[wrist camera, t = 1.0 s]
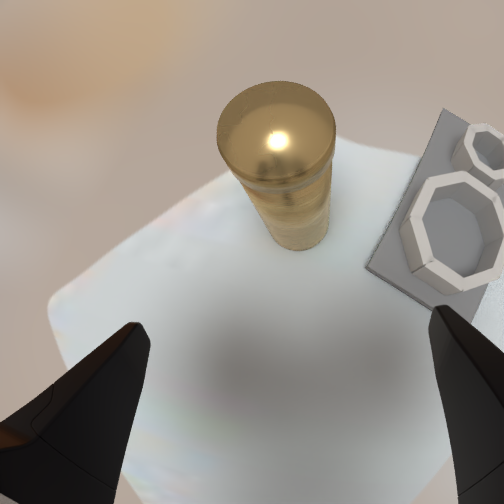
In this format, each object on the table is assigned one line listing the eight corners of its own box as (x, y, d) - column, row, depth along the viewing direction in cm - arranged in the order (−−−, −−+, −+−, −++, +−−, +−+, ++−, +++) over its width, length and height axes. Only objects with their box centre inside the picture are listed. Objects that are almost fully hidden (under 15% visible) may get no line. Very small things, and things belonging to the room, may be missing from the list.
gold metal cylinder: (308, 264, 23) (295, 200, 11) (254, 231, 24) (191, 147, 12) (341, 210, 23) (356, 105, 11) (287, 181, 24) (256, 67, 12)
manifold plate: (461, 330, 19) (486, 331, 15) (365, 268, 22) (374, 257, 18) (518, 167, 20) (539, 146, 16) (440, 114, 23) (452, 87, 19)
